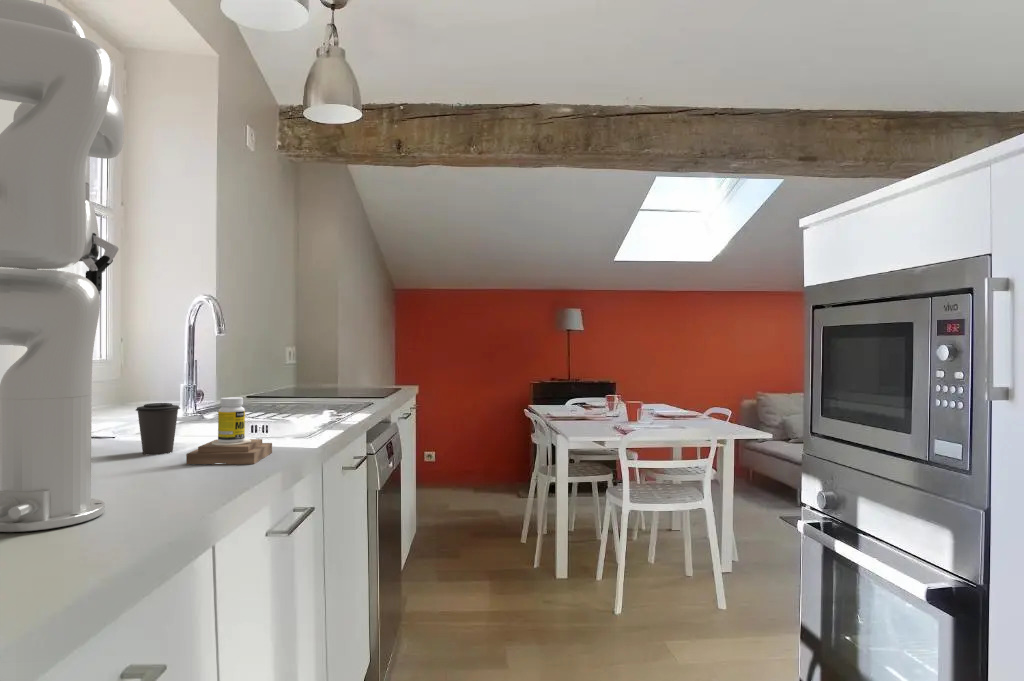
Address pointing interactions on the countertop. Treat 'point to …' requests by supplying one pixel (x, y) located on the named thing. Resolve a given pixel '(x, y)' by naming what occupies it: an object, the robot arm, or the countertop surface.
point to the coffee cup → (157, 427)
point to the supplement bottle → (231, 420)
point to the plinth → (230, 452)
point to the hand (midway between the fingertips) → (62, 295)
